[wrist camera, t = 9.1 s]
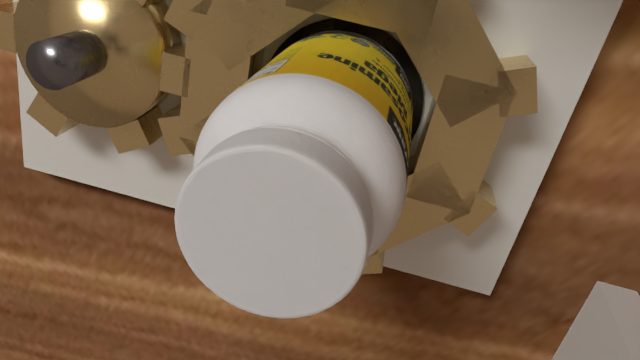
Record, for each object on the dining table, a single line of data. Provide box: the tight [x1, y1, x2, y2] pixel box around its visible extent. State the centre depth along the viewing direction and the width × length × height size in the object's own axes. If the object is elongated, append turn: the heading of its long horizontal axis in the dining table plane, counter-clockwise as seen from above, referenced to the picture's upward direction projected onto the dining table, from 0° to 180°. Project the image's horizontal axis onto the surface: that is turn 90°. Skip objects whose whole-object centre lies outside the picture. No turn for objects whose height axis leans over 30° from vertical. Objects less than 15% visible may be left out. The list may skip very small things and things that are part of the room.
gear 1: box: [0, 0, 191, 154], centre depth 21 cm, size 8×9×4 cm
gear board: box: [13, 0, 623, 296], centre depth 23 cm, size 15×24×1 cm, turn 78°
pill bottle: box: [175, 30, 413, 318], centre depth 17 cm, size 6×6×11 cm
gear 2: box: [158, 0, 538, 274], centre depth 21 cm, size 14×14×2 cm
